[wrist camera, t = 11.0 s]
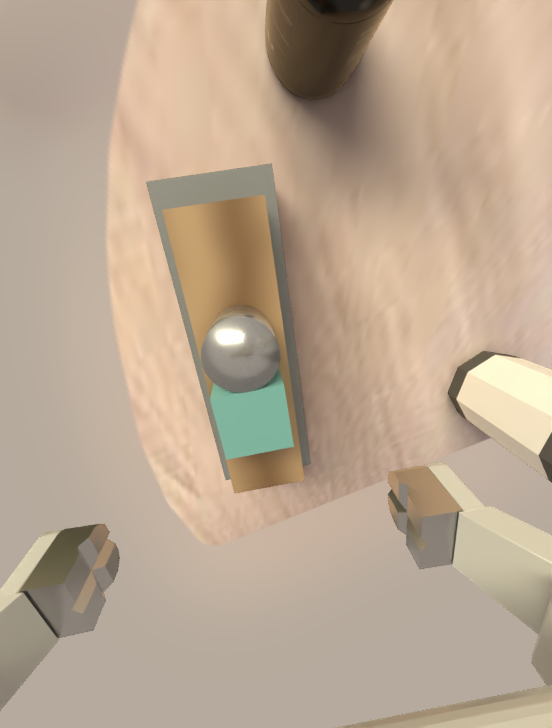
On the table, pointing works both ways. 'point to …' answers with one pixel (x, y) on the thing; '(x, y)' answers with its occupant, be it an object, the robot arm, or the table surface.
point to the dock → (262, 183)
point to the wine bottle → (508, 405)
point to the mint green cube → (252, 419)
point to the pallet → (234, 303)
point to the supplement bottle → (319, 41)
